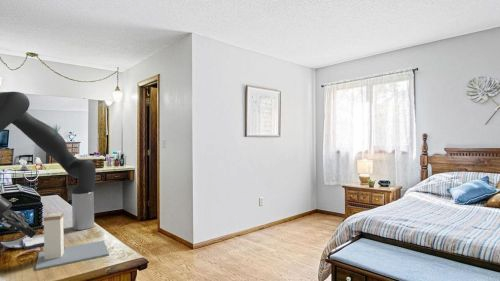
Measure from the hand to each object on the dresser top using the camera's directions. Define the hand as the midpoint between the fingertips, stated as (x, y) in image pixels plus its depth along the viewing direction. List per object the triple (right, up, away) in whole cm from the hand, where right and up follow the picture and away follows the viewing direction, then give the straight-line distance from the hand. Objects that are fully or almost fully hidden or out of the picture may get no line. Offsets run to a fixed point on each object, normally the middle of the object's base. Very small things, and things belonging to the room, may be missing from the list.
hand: (34, 235), depth 105 cm
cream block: (+6, -8, +2) cm, 10 cm away
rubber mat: (+11, -9, +5) cm, 15 cm away
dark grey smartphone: (-13, -10, +19) cm, 25 cm away
